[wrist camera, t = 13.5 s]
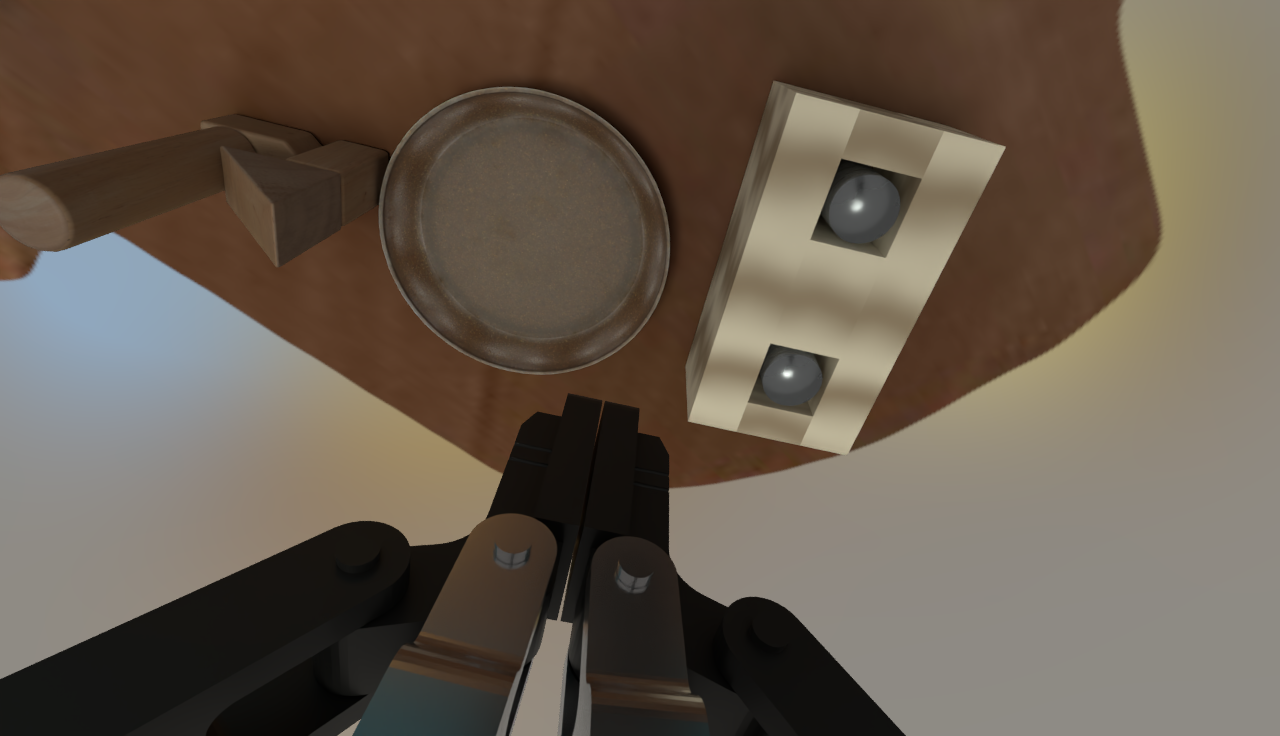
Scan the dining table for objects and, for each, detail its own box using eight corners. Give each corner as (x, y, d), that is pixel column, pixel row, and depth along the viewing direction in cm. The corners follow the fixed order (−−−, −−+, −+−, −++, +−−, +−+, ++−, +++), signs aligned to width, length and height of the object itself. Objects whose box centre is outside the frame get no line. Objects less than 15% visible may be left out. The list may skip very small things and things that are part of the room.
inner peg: (816, 143, 40) (845, 167, 33) (872, 157, 40) (912, 184, 34) (795, 201, 42) (818, 235, 35) (849, 214, 42) (882, 250, 36)
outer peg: (759, 302, 46) (774, 349, 39) (808, 314, 46) (831, 362, 40) (743, 347, 48) (754, 399, 41) (790, 357, 48) (809, 410, 42)
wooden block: (389, 200, 44) (233, 298, 28) (239, 164, 43) (-7, 245, 27) (390, 149, 42) (223, 223, 26) (234, 111, 41) (-35, 164, 25)
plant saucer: (337, 193, 44) (313, 205, 41) (557, 13, 37) (548, 11, 35) (515, 394, 52) (506, 415, 49) (721, 273, 46) (724, 290, 43)
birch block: (773, 80, 38) (796, 92, 32) (947, 125, 39) (1005, 147, 32) (685, 365, 49) (688, 421, 42) (822, 396, 50) (847, 455, 43)
